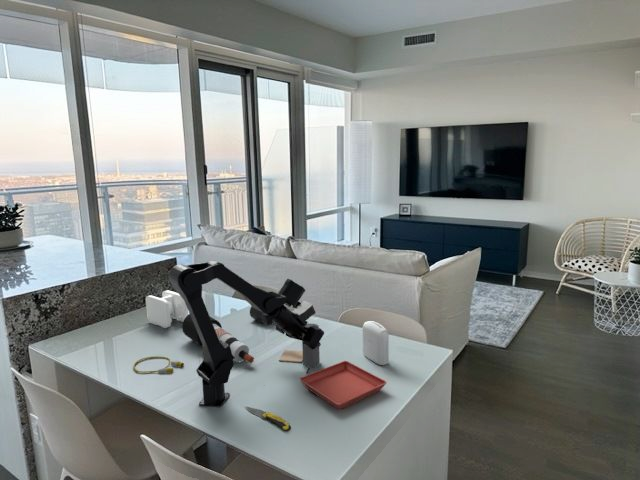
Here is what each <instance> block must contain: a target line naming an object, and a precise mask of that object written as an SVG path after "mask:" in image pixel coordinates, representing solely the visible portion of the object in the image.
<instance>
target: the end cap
mask: <svg viewBox="0 0 640 480" xmlns="http://www.w3.org/2000/svg"><path fill="white" fill-rule="evenodd" d="M250 306H251V305H250ZM262 314H264V313H263V312H261V311H259V310H257V309H255V308H253V307H252V306H251V307H250V308H249V316H250V317H251V319H253V320H255V321H259V322H262ZM272 323H273V324H275V323H274V322H273V321H271V323H270V324H269V325H273V324H272Z"/></svg>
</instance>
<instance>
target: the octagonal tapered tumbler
mask: <svg viewBox="0 0 640 480" xmlns="http://www.w3.org/2000/svg"><path fill="white" fill-rule="evenodd" d="M313 325H314V326H316V327H318V328H320V326H319V325H318V324H316V323H307V324H306V326H305V327H307V328H308V327H310V326H313ZM303 337H304V335H303V334H302V339H303ZM301 343H302V342H301ZM301 345H302V351H303V361H302V365H303V366H304V365H305V368H315V366H316V367H319V365H320V361H321V360H320V347H316V348H315V349H311V348H309V347H307V346H305V345H303V343H302V344H301Z"/></svg>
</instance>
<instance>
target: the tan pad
mask: <svg viewBox="0 0 640 480" xmlns="http://www.w3.org/2000/svg"><path fill="white" fill-rule="evenodd" d="M283 361H290V362H289V363H299V362H302V363H303V350H291V349H290V350H289V349H285V350H284V351H283V352H282V353H281V356H280V357H279V359H278V362H283Z"/></svg>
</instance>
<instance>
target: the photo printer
mask: <svg viewBox="0 0 640 480" xmlns="http://www.w3.org/2000/svg"><path fill="white" fill-rule="evenodd" d="M389 339H390V337H389V331H388V330H387V328H385V327H384V325H382V324H381V323H379V322H377V321H372V320H369V321H365V322H364V323H363V325H362V353H363V356H364V357H366V358H368V359H369V360H370V361H371V362H374V363H375V364H377V365H380V366H386V365H388V363H389V362H390V361H389V359H390V357H389V355H390V354H389V353H390V352H389V350H390V349H389V346H390V345H389V343H390V342H389Z"/></svg>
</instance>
